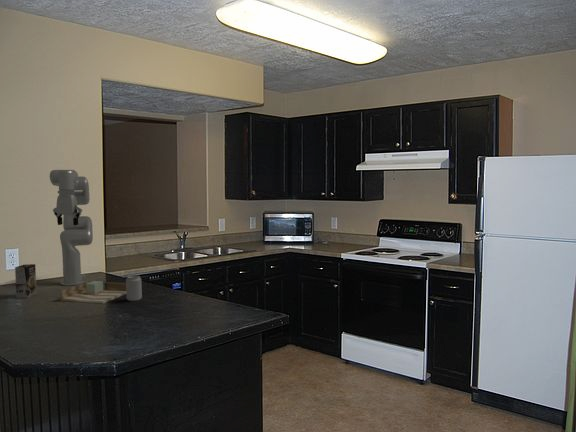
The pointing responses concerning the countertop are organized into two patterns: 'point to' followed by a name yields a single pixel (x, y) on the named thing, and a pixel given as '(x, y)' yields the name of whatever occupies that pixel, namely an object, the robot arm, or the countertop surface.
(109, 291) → the corner guide
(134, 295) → the can
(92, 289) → the block
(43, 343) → the countertop surface
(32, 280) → the coffee box
